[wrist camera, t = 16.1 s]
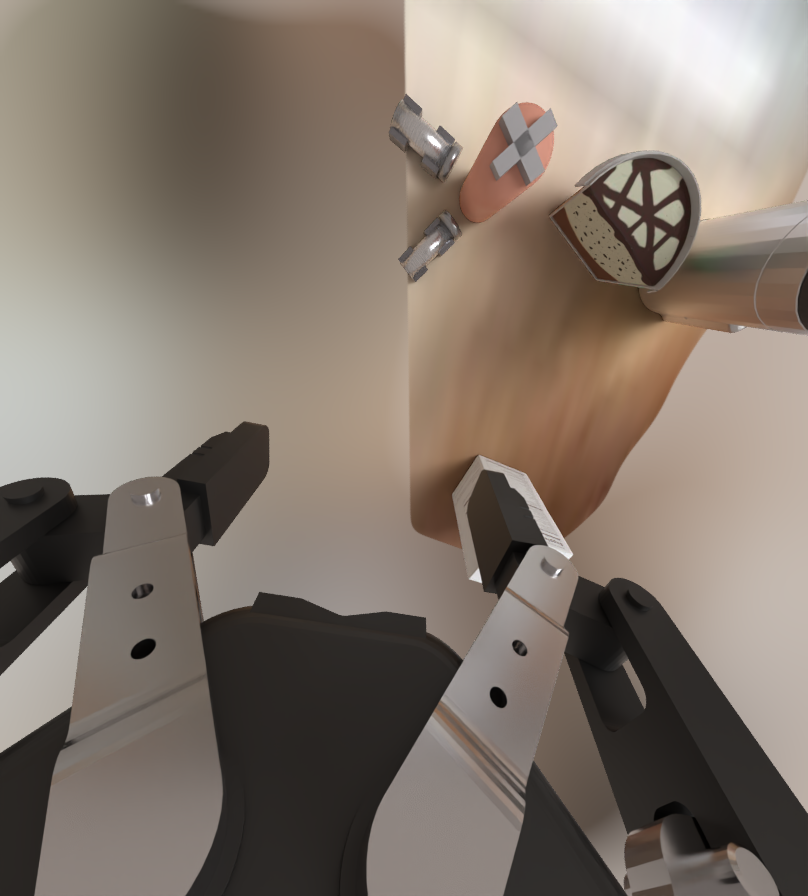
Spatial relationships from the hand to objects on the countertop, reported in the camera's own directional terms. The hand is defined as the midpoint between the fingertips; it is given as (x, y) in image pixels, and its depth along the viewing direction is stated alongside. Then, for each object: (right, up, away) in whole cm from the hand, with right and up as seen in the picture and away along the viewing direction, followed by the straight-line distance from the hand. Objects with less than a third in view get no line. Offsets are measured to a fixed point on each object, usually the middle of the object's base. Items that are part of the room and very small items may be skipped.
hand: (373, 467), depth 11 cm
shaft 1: (+3, +31, +19) cm, 37 cm away
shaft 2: (+4, +24, +24) cm, 34 cm away
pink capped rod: (+9, +28, +21) cm, 36 cm away
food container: (+22, +25, +22) cm, 40 cm away
